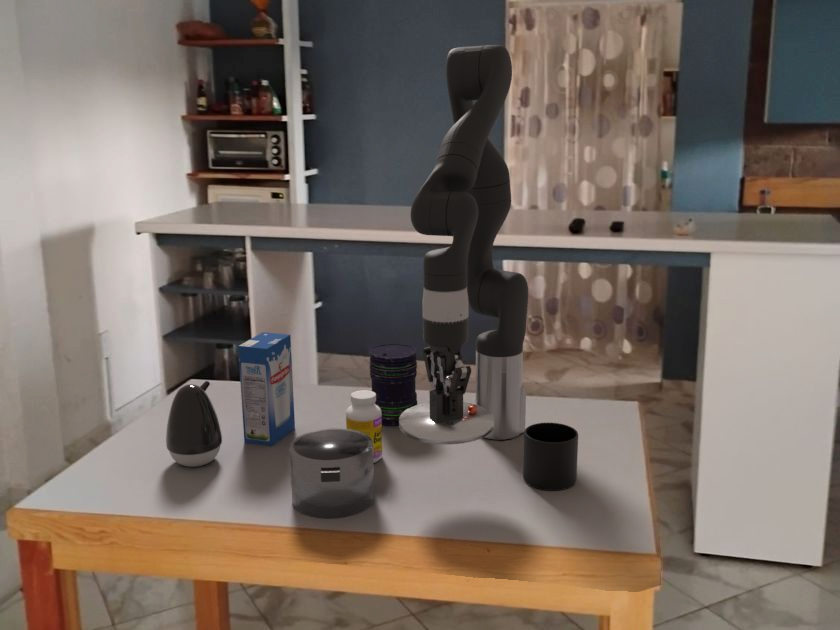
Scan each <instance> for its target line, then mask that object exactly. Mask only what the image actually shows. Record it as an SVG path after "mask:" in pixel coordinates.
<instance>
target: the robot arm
mask: <svg viewBox="0 0 840 630" xmlns="http://www.w3.org/2000/svg"><path fill="white" fill-rule="evenodd" d="M512 64H513V63H512V60H511V55H510V53H509V50H508V49H507V48H506V47H505V46H503V45H500V44H485V45H473V46H460V47H459V46H458V47H455V48H452V49H451V50H449V52H448V54H447V57H446V62H445V79H446V86H447V87H446V88H447V94H448V98H449V105H450V110H451V111H450V112H451V114H452V115H451V116H452V121H453V125H452V127H450V128H449V130H448V131H447V132H446V134H445V136H444V137H443V138H442V142H441V143H440V147H439V149H438V154H437V157H436V160H435V165H434V167H433V170H432V171H431V173H430V174H429V175H428V177H427V179H426V180H425V182H424V183H423V184H422V185H421V187H420V189H419V190H418V191H417V193H416V195H415V196H414V198H413V201H412V203H411V208H410V220H411V221H410V222H411V224H412V227H413V228H414V230H415V231H416V232H417V233H419V234H421V235H424V236H425V235H426V236H437V237H438V236H439V237H452V243H451V244H450V246H448V247H443V248H437V249H433V250H429V251H428V252H426V253H425V255H424V257H423V265H422V266H423V267H422V269H423V292H422V293H423V294H422V300H421V301H422V340H423V343H425V344H427V345H428V347H423V348H422V355H423V360H424V365H425V369H426V374H427V379H428V382H429V383H432V386H433V390H435V389H440V388H444V395H445V396H444V415H445V416H446V417H453V416H456V415H457V414H458V395H462V394H463V395H465V394H466V391H467V388H468V384H469V380H470V378H471V374H472V367H471V366H470V365H465V364H464V363H463V359H464V357H463V353H462V347H463V346H464V345H465V344H467V342H469V338H470V337H469V336H470V335H469V334H470V333H469V332H470V330H469V329H470V328H469V325H470V324H469V323H470V321H469V320H470V318H469V315H470V312H469V309H471V310H472V311H473V312H474V313H476V314H477V315H482V316H486V317H490V318H491V317H492V318H498V325H497V329H492V330H487V331H484V332H482V333H479V335H478V336H476V340H475V405H478V406H481V407H483V408H485V409H487V410H489V411H490V412H491V413H492V414H493V416H494V429H493V431H492V432H491V433H490V434H488V435H487V436H485V437H483V438H485V439H488V440H489V439H491V440H499V441H500V440H509V439H514V438H516V437H518V436H520V434H522V433H523V434H524V431H525V429H526V412H527V411H526V409H527V406H526V405H527V404H526V403H527V388H526V387H525V386H524V385H523V363H524V362H523V358H524V355H523V354H524V351H523V350H524V340H525V337H526V332H527V321H528V317H527V316H528V306H529V305H528V304H529V287H528V282H527V279H526V277H525V276H524V275H523V274H521V273H519V272H517V271H516V272H515V271H510V270H502V269H495V268H494V264H493V263H494V262H493V261H494V260H493V249H494V248H493V247H494V243H495V240H496V237H497V235H498V233H499V232H500V230H501V228H502V226H503V225H504V223H505V220H506V219H507V217H508V215H509V213H510V209H511V206H512V191H511V190H512V189H511V179H510V178H511V177H510V171H509V166H508V164H507V163H506V161H505V159H504V158H503V157H502V155H501V154H500V152H499V150H497V148H496V147H495V146H494V144H493V143H492V142H491V140H490V139H489V135H490V133H491V131H492V129H493V127H494V125H495V124H496V122H497V119H498V117H499V114H500V112H501V110H502V108H503V105H504V104H505V101H506V99H507V96H508V94H509V91H510V89H511V85H512V79H513V65H512ZM473 101H475V103H473ZM469 307H470V308H469ZM449 387H450V388H449Z"/></svg>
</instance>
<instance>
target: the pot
mask: <svg viewBox="0 0 840 630" xmlns="http://www.w3.org/2000/svg"><path fill="white" fill-rule="evenodd" d="M289 464H290V465H289V468H290V481H291V482H290V483H291V486H290V487H291V500H292V501H291V502H292V506H293V507H294V509H295V510H296V511H297V512H299V513H301V514H303V515H305V516H308V517H313V518H317V519H318V518H320V519H338V518H340V519H341V518H345V517H350V516H353V515H356V514H357V515H358V514H359V513H362V512H363V511H365V510H367V509H368V508H370V506H372V504H373V503H374V500H375V473H374V472H375V471H374V470H375V469H374V463H373V441H372V439H371V438H370V437H369V436H368V435H366V434H364V433H362V432H359V431H355V430H350V429H347V428H339V427H338V428H336V427H335V428H322V429H316V430H312V431H308V432H305V433H303V434H300V435H298V436H297V437H295V438H294V439H293V440H291V442H290V444H289Z"/></svg>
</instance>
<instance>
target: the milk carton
mask: <svg viewBox="0 0 840 630" xmlns="http://www.w3.org/2000/svg"><path fill="white" fill-rule="evenodd" d="M291 338H292V337H291V334H286V333H277V332H276V333H275V332H266V331H265V332H263V331H262V332H260V333H259V334H257V335H255V336H253V337H252V338H250V339H248V340H246V341H244V342H243V343H241V344H239V345H238V346H237V349H238V363H239V365H238V367H239V381H240V383H239V384H240V393H241V394H240V396H241V408H242V409H241V411H242V426H243V427H242V428H243V438H244V439H243V441H244V443H247V444H254V445H255V444H256V445H263V446H270V447H273V446H274V445H276V444H277V443H278V442H279V441H281V440H282V439H283V438H284V437H285V436H288V434H289V433H291V432H292V431H293V430H294V429H295V428H296V425H295V423H296V422H295V421H296V420H295V402H294V399H295V398H294V382H293V380H294V379H293V360H292V359H293V357H292V341H291Z"/></svg>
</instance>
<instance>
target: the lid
mask: <svg viewBox="0 0 840 630" xmlns="http://www.w3.org/2000/svg"><path fill="white" fill-rule="evenodd" d="M449 388H450V386H449ZM444 396H445V395H444V388H440V389H430V390H429V402H423V403H420V404H417V405H416V406H413V407H411V408H409V409H407V410H405V411H404V412H403V413H402V414H401V415H400V417H399V427H398V428H399V430H400V432H401V433H402V434H403V435H404V436H406V437H407V438H409V439H412V440H415V441H418V442H421V443H426V444H432V445H459V444H465V443H472V442H476V441H477V440H480V439H481V440H482V439H483V438H484V437H485V436H487V435H488V434H490V433H491V432H492V431H493V429H494V416H493V414H492V413H491V412H490V411H489V410H487V409H485V408H483V407H481V406H478V405H476V403H475V404H474V403H472V402H470V403H469V402H465V401H464V394H462V395H458V414H457V415H456V416H453V417H446V416H445V415H444Z"/></svg>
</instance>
